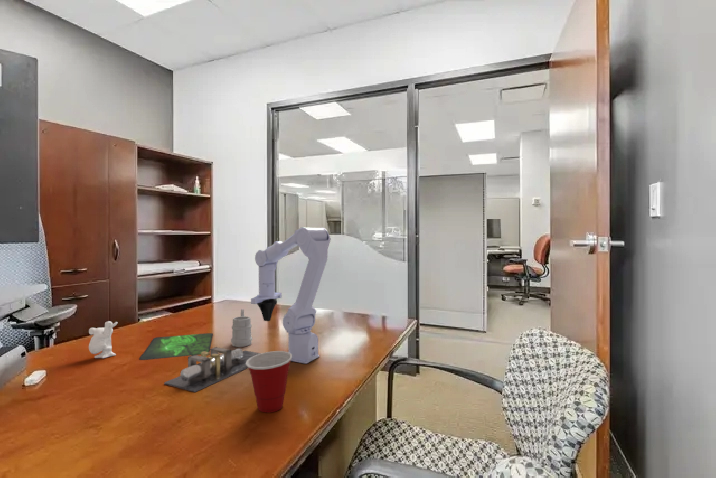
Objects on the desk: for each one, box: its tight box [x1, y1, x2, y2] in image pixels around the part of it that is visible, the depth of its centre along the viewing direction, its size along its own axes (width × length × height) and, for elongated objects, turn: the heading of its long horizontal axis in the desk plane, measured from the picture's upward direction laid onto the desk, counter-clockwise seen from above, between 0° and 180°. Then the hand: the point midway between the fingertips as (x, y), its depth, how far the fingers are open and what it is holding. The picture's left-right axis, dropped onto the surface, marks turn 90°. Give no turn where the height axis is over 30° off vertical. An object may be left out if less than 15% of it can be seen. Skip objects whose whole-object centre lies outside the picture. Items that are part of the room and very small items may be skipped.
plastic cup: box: [246, 350, 292, 414], centre depth 88 cm, size 11×11×12 cm
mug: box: [230, 308, 253, 348], centre depth 141 cm, size 8×12×12 cm, turn 15°
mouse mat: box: [138, 332, 214, 361], centre depth 137 cm, size 27×22×1 cm
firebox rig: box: [163, 346, 262, 393], centre depth 113 cm, size 12×31×6 cm, turn 154°
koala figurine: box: [88, 320, 118, 359], centre depth 124 cm, size 8×7×12 cm
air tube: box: [180, 347, 244, 381], centre depth 110 cm, size 20×3×4 cm, turn 154°
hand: (267, 320), depth 134 cm, fingers closed
